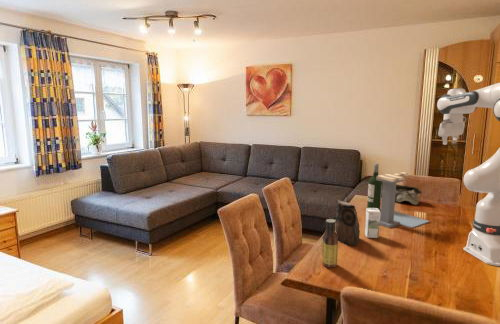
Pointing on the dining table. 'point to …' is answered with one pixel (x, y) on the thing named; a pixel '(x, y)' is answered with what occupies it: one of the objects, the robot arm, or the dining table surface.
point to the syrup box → (372, 222)
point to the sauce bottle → (330, 245)
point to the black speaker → (347, 223)
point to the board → (393, 176)
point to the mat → (408, 220)
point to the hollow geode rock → (407, 194)
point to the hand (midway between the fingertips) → (449, 143)
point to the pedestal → (388, 204)
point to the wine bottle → (374, 190)
